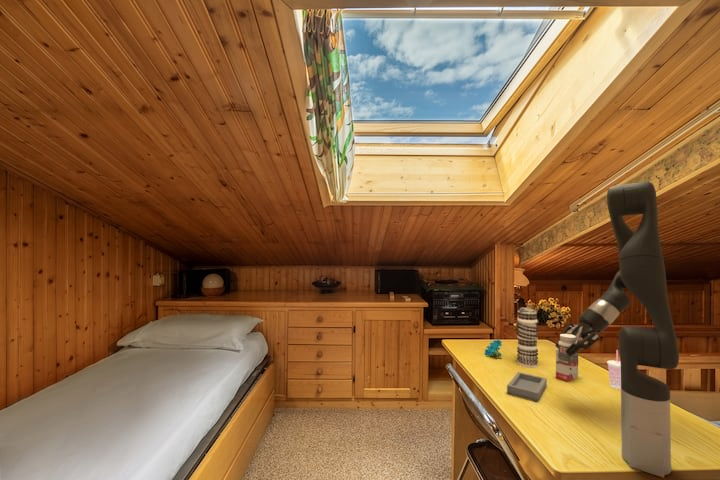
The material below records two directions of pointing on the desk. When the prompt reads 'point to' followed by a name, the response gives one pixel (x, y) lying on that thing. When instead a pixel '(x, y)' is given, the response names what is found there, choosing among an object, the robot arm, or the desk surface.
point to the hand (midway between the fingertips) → (562, 350)
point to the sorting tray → (527, 386)
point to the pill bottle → (562, 355)
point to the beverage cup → (615, 372)
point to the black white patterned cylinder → (527, 337)
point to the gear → (493, 348)
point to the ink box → (565, 371)
